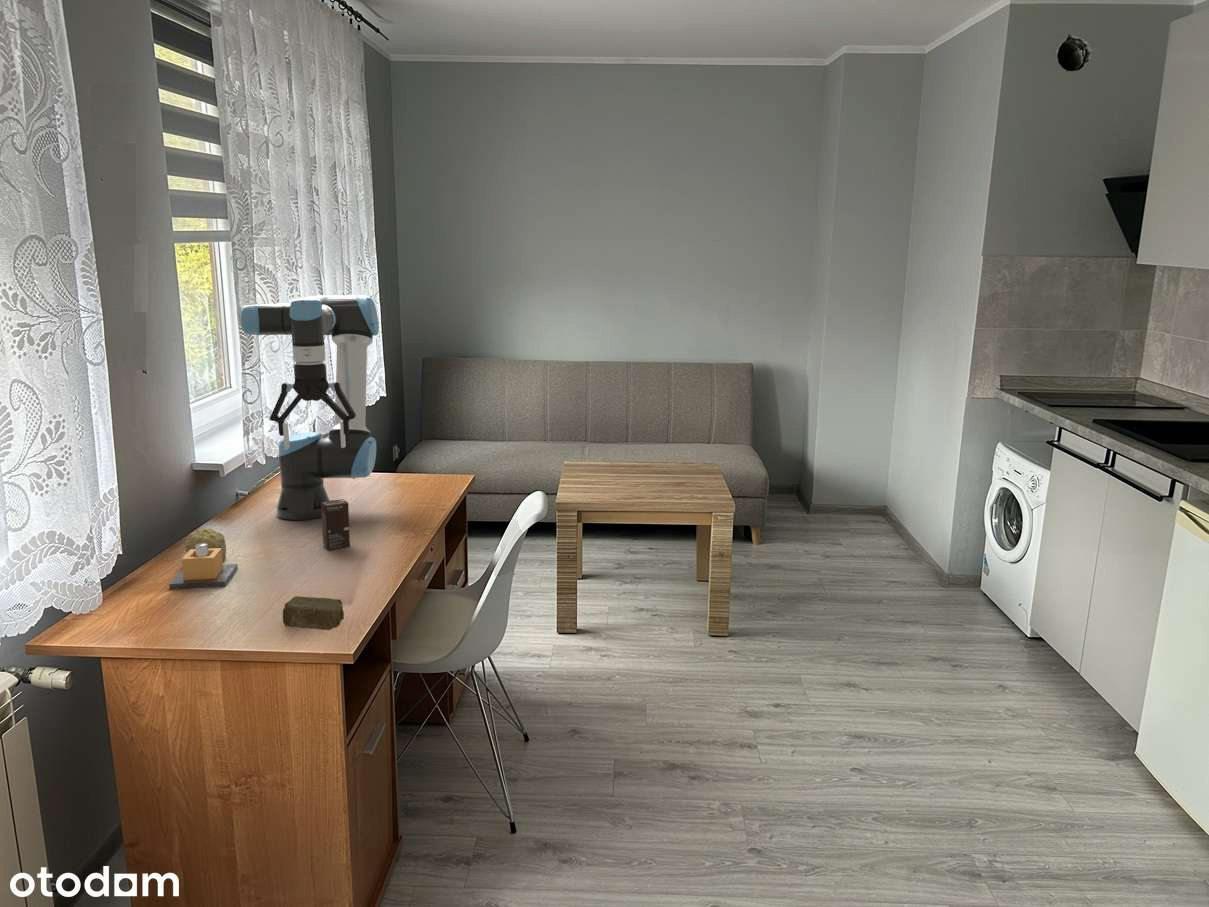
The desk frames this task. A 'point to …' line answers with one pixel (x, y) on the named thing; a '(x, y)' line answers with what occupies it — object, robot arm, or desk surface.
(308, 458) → the robot arm
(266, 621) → the desk surface
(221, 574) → the keeper
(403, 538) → the desk surface
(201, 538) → the decorative item
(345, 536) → the box
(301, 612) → the stone block
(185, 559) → the tan square-hole block
